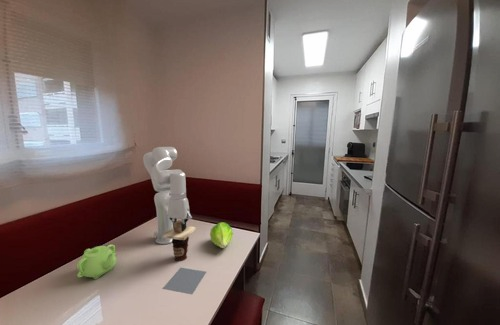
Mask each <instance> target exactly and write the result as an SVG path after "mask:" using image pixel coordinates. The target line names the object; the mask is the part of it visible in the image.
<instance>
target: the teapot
mask: <svg viewBox="0 0 500 325" xmlns="http://www.w3.org/2000/svg"><path fill="white" fill-rule="evenodd" d="M115 248H116V246H115V245H114V244H107V246H105V245H99V246H97V245H96V246H94V247H92V248H86V249H85V250H84V251H83V254H82V256H81V259H80V260H79V261H78V262H77V265H76V267H77V269H78V273H77V274H76V275H77V277H78V278H83V277H85V278H93V280H98V279H99V278H101V276H102V275H104V274H106V273H107V272H110V271H112V270H113V269H114V267H115V265H116V263H117V257H116V256H117V253H116V252H115V251H116V249H115Z"/></svg>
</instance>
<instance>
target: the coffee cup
mask: <svg viewBox="0 0 500 325" xmlns="http://www.w3.org/2000/svg"><path fill="white" fill-rule="evenodd" d="M189 238H190V237H189V236H188V237H187V238H186V239H185V240H178V239H172V250H173V255H174V261H176V262H183V261H185V260H187V259H188V256H187V253H188V250H189Z"/></svg>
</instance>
